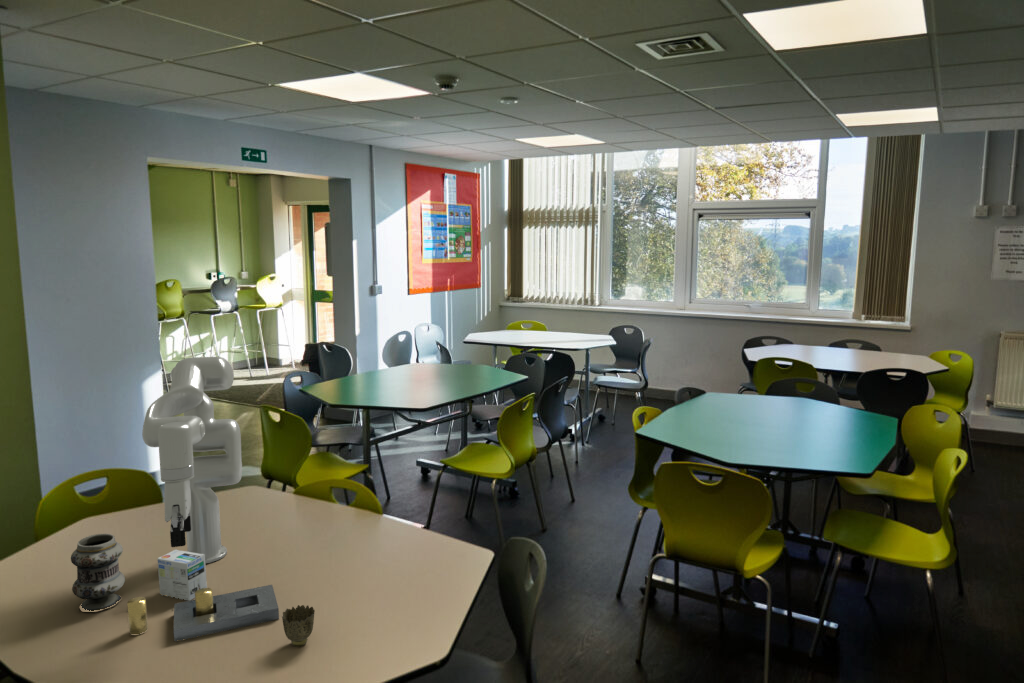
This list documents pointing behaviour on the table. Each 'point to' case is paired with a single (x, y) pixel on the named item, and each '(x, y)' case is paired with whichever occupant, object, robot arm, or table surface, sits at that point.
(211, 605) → the seated bushing
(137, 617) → the brass cylinder
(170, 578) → the light bulb box
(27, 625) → the table surface
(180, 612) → the jig
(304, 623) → the cup
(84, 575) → the apothecary jar
